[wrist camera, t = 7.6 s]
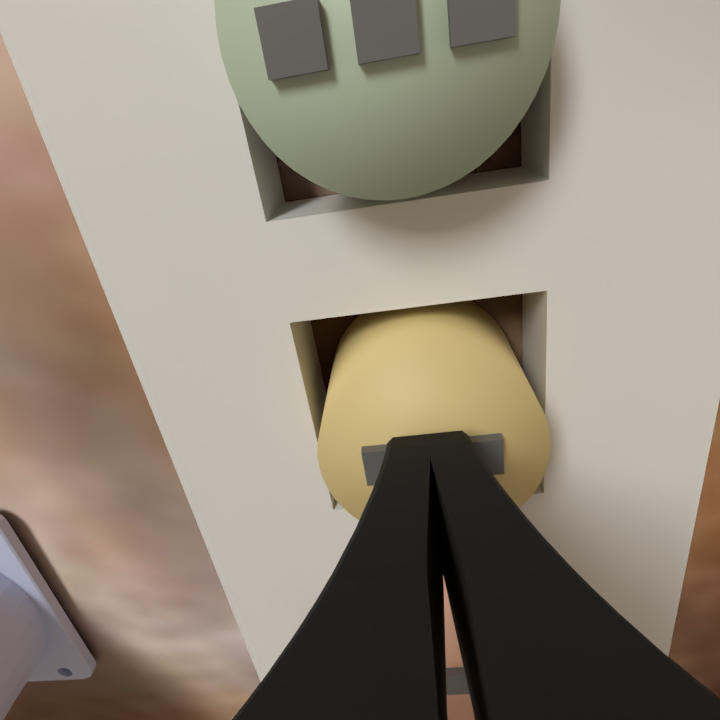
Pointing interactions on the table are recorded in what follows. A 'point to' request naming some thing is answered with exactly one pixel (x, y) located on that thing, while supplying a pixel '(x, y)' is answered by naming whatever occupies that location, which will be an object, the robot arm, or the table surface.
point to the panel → (403, 283)
